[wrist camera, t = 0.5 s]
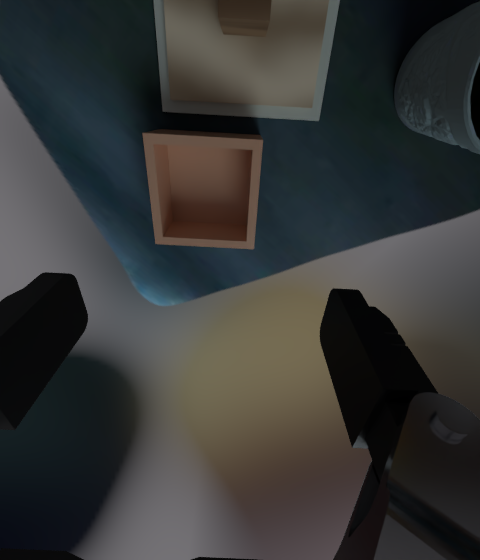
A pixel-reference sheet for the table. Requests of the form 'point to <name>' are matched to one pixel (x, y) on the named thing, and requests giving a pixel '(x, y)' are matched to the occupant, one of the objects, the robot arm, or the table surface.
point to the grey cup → (444, 81)
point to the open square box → (203, 187)
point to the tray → (245, 109)
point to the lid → (244, 50)
